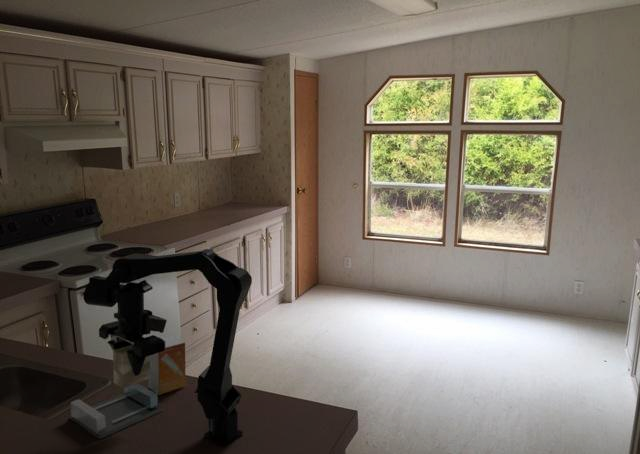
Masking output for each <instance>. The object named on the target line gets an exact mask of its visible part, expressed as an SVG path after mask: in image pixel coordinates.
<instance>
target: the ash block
mask: <svg viewBox="0 0 640 454" xmlns="http://www.w3.org/2000/svg"><path fill="white" fill-rule="evenodd" d="M132 349H133V344H132V345H129V346H126V347H122V348H119V349H116V350H113V349H112V360H113V364H112V365H113V366H112V367H113V384H114V385H117V386H119V387H120V388H122V389H124V388H126V387H128V386H131V385H134V384H136V383H137V384H140V382H143V381H146V380H149V378H150V356H147V357H146V358H145V361H144V364H143V366H142V369H141V372H140V374H139V375H137V376H135V375H134V372H133V370H132V367H131V364H130V361H129V358H128V355H127V352H126V351H129V350H132Z"/></svg>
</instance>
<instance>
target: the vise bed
mask: <svg viewBox="0 0 640 454" xmlns="http://www.w3.org/2000/svg"><path fill="white" fill-rule="evenodd" d="M163 410H164V409H163V407H162V405H159V404H158V406H156V407H153V408H151V409H150V408H149V407H147V406H145V405H143V404H142V403H140V402H138V401H136V400H135V399H133V398H131V397H129V396H127V395H126V394H124V392H123V393H120V394H118V395H115V396H113V397H111V398H108V399H106V400H102V401H100V402H98V403H95V404H92V405H89V404H87V403H86V402H84V401H83V400H81V399H80V398H78V399H75V400H73V401H70V414H69V419H70V420H72V421H73V422H74V423H75V424H77V425H79V426H80V427H82V428H83V429H84V430H86V432H88V433H90V434H92V435H93V436H94V437H96V438H97V439H98V438H99V440H101V438H102V439H103V438H105V437H108V436H110V435H113V434H115V433H117V432H119V431H122V430H124V429H126V428H129V427H130V426H132V425H135V424H138V423H140V422H143V420H144V421H145V420H146V419H148V418H150V417H152V416H155V415H157V414H160V413H161V412H163Z"/></svg>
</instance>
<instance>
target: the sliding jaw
mask: <svg viewBox="0 0 640 454" xmlns="http://www.w3.org/2000/svg"><path fill="white" fill-rule="evenodd" d="M123 393H124V394H126V395H127V396H129V397H131V398H133V399H135V400H136V401H138V402H140V403H142V404H143V405H145V406H147V407H149V408H150V409H151V408H153V407H156V406H158V405H159V403H158V394H157V393H156V392H154V391H153V390H152V389H150V388H148V387H145V386H143V385H141V384H140V383H136V384H134V385H131V386H128V387H126V388H123Z"/></svg>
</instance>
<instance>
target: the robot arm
mask: <svg viewBox="0 0 640 454" xmlns="http://www.w3.org/2000/svg"><path fill="white" fill-rule="evenodd" d="M111 269H112V270H111V271H110V273H109V274H108V275H107V277H103V276H100V275H92V276H90V277H89V278H88V283H87V285H86V286H85V287H84V288H85V289H84V292H83V294H82V295H83V301H84V303H85V304H87V305H89V306H97V307H107V308H113V307H114V306H116V304H117V312H114V313H113V318H114V319H117V320H115V321H112V322H108V323H103V324H102V325H101V326H100V327H99V329H98V336H99V338H101V339H103V340H107V339H108V338H109V336H110V340H108V341H107V344H108V345H109V347H110V348H111V350H112V351H113V350H116V349H119V348H122V347H126V346H129V345H132V344H133V349H132V350H129V351H126V352H127V355H128V358H129V361H130V364H131V367H132V370H133V372H134V375H135V376H137V375H139V374H140V372H141V369H142V366H143V364H144V361H145V358H146V357H147V356H150V355H153V354H156V353H159V352H162V351H165V341H164V340H163V339H164V338H161V337H159V336H156V335H153V334H151V332H159V333H160V334H163V333H164V331H165V329H166V324H167V322H168V320H167V319H165V318H163V317H161V316H158V315H154V314H153V311H152V310H149V309H145V295H144V294H145V293H147V292H149V291H152V290H153V289H154V288H153V286H152V285H151V284H150V283H149V282H147V280H146V279H143V278H147V277H150V276H153V275H159V274H171V273H177V272H187V271H196V270H198V271H199V272H200V273H201V274H202V276H204V278H205V280H206V281H207V282H208V284H210V285H211V286H212V287H213V288H215V289H216V301H217V305H218V316H217V321H216V328H215V333H214V334H215V335H214V339H213V344H212V350H211V351H212V352H211V354H210V355H211V356H210V362H209V365H208V366H207V367H206V368H205V369H204V370H203V371H201V373H200V374H199V375H198V377H197V387H196V390H195V392H194V393H195V394H197V396H196V399H197V402H199V405H201V407H202V409H203V412H204V415H205V418H206V419H208V431H206V432H204V433H203V437H204V438H207V439H208V440H210V441H212V442H214V443H215V444H217V445H218V446H220V447H222V446H225V445H227V444H228V443H230V442H232V441H233V440H236V439H237V438H240V437H241V436H243V434H244V432H243V431H241V429H239V428H238V419H239V418H238V411H237V409H236V407H237V406H238V405H239V403H240V401H241V399H242V394H241V393H240V392H239V391H238V390H237V388H235V386H234V385H233V375H232V374H233V373H232V370H231V359H232V354H233V350H234V344H235V339H236V338H235V337H236V335H237V327H238V323H239V317H240V311H241V308H242V306H243V304H244V302H245V300H246V298H247V296H248V294H249V292H250V289H251V286H252V283H253V280H252V279H253V277H252V275H250V272H249V270H248V271H247V269H245V268H243V267H239V266H237V265H236V264H235V263H234V262H232V261H230V260H228V259H226V258H224V257H222V256H220V254H218V253H217V252H215V251H214V250H212V249H209V248H205V249H202V250H196V251H188V252H180V253H174V254H164V255H154V254H148V253H132V254H128V255H125V256H124V257H119V258H117V259H116V260H114V262H113V264H112V268H111ZM141 279H143V280H142V281H139V282H135V281H138V280H141ZM150 334H151V335H150ZM144 335H146V337H144ZM147 335H149V336H147Z"/></svg>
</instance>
